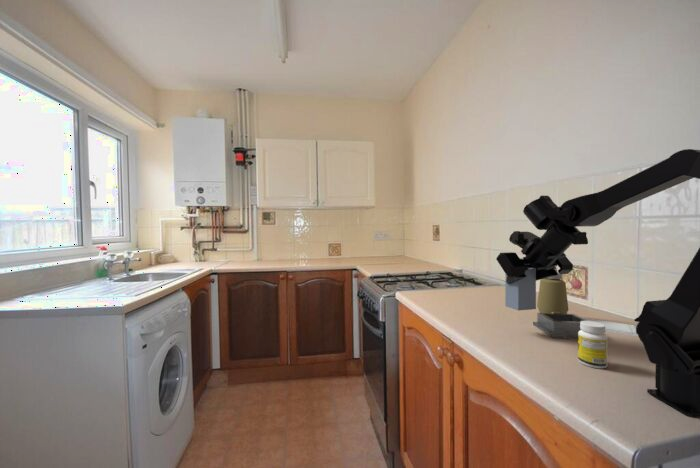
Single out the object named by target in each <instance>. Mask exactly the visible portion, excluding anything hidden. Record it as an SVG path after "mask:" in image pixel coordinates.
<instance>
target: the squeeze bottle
mask: <svg viewBox="0 0 700 468" xmlns="http://www.w3.org/2000/svg"><path fill="white" fill-rule="evenodd" d="M555 271H556V272H557V273H558V268H557V267H556V269H555ZM562 275H563V274H559V273H558V275H557V276H552V277H548V278H544V279H541V280H539V287H538V296H537V302H536V308H537V309H538V313H552V312H560V313H563V314H568V312H569V303H568V293H567V287H566V284H567V283H566V281H564V280H563V279H562Z"/></svg>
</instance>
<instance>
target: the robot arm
mask: <svg viewBox="0 0 700 468" xmlns="http://www.w3.org/2000/svg"><path fill="white" fill-rule="evenodd" d="M692 179H699V180H700V149H693V148H691V149H690V148H687V149H682V150H679V151H676V152H674V153H673V154H671V155H670V156H669V157H667V158H666V159H664V160H662V161H660V162H657V163H655V164H653V165H651V166H650V167H647V168H645V169H644V170H642V171H639V172H638V173H635V174H634V175H631V176H629V177H628V178H625V179H624V180H621V181H620V182H617V183H615V184H613V185H611V186H609V187H607V188H605V189H603V190H601V191H598V192H594V193H589V194H583V195H580V196H577V197H574V198H571V199H568V200H566V201H564V202H563V203H562V204H561V205H560V206H558V205H557V204H556V203H555V202H554V201H553V200H552V198H551V197H550V196H549V195H540V196H539V197H538V198H536V199H534V200H532V201H531V202H529V203H528V204H526V205H525V206H524V208H523V211H522V212H523V214H524V216H526V218H527V219H528V220H529V221H530V222H531V224H532V225H533V226H534V227H535V229H537V230H539V231H544V230H545V232H544V233H543V234H542V235H541V236H538V235H537V234H534V233H533V232H530V231H520V230H516V231H513V232H512V233H511V234H510V236H509V239H508V241H509V242H510V243H511V244H513V245H514V246H515V245H516V246H517V247H519V248H521V250H520V252H521V254H522V255H525V256H523V257H522V259H520V258H521V257H519V255H518V254H517V253H516V252H512V251H511V252H505V251H504V252H500V253H499V254H498V255H497V256H496V259H495V260H496V261H497V263H498V264H499V266H500V267H501V269H502V270H503V272H504V274H505V273H506V275H507V279H506V282H507V284H511V283H514V282H516V281H518V280H520V279H523V278H525V277H527V276H526V275H525V271H527V270H528V269H532V268H535V269H536V282H537V281H540V280H541V279H544V278H548V277H552V276H557V275H558V273H559V274H562V275H569V274H570V273H571V272H572V271H573V270H574V264H573V263H572V262H571V260H569V259H568V256H567V255H566V253H565V251H567V249H569V248H570V247H571V246H572V245H574V246H575V245H581V246H582V245H588V243H589V240H588V237H587V234H588V233H587V232H586V231H581V230H580V229H578V227H582V228H583V227H597V226H599V225H601V224H603V223H604V222H606V221H608V220H609V219H611V218H612V217H613V216H615V214H616V213H617V212H618V211H620V210H621V209H623V208H626V207H627V206H630V205H632V204H635V203H636V202H637V203H638V202H639V201H641V200H644V199H646V198H650V197H652V196H653V195H655V194H659V193H660V192H663V191H666V190H668V189H670V188H673V187H675V186H678V185H681V184H682V183H685V182H687V181H690V180H692ZM557 266H558V268H559V269H557V272H558V273H557V272H556V271H555V269H556V268H557ZM633 321H634V322H637V324H636V326H635V328H636V333H637V334H638V336H637V337H638V338H639V340H640V342H641V343H642V345H643V347H644V350H645V353H646V355H647V358H648V361H649V362H650V363H651V364H654V365H655V381H654V382H655V384H654V385H655V389H654V388H653V389H652V388H648V389H646V393H648V394H650V395H651V396H653V398H654V397H655V398H656V399H658V400H660V401H661V402H663V403H665V404H667V405H668V406H670V407H672V408H673V409H676V410H677V411H678V412H681V413H682V414H684V415H686V416H690V417H691V416H692V417H697V416H698V417H700V247H699V248H698V249H697V251H696V253H695V254H694V256H693V258H692V259H691V261H690V263H689V264H688V266H687V268H686V269H685V271H684V273H683V275H682V276H681V277H680V279H679V281H678V282H677V284H676V286H675V288H674V289H673V291H672V293H671V295H669V297H668V298H666V299H663V300H662V299H659V300H649V301H648V300H647V301H646V302H645V303H644V304H643V306H642V310H641V313H640V315H638V317H636V318H635V319H634V320H633Z"/></svg>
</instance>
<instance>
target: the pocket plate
mask: <svg viewBox="0 0 700 468" xmlns="http://www.w3.org/2000/svg"><path fill="white" fill-rule="evenodd" d="M581 317H582V316H579V315H577V314H574V313H567V314H563V313H560V312H552V313H540V312H537V319H536V320H537V321H532V325H533V326H535V327H536V328H538V330H540V331H542V332H543V333H544V334H546V335H548V336H549V337H551V338H554V339H577V340H578V332H579V331H580V330H581V329H580V322H581V321H588V320H586V319H584V318H585V317H582V318H581Z"/></svg>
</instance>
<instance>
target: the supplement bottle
mask: <svg viewBox="0 0 700 468" xmlns="http://www.w3.org/2000/svg"><path fill="white" fill-rule="evenodd" d="M580 329H581V330H580V331H579V332H578V339H577V358H578V359H577V361H578V362H579V363H580V364H581V365H584V366H587V367H590V368H592V369H593V368H595V369H606V368H607V367H608V340H609V339H608V338H609V337H608V336H607V335H606V331H605V325H603V324H601V323H598V322H593V321H581V322H580Z"/></svg>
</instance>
